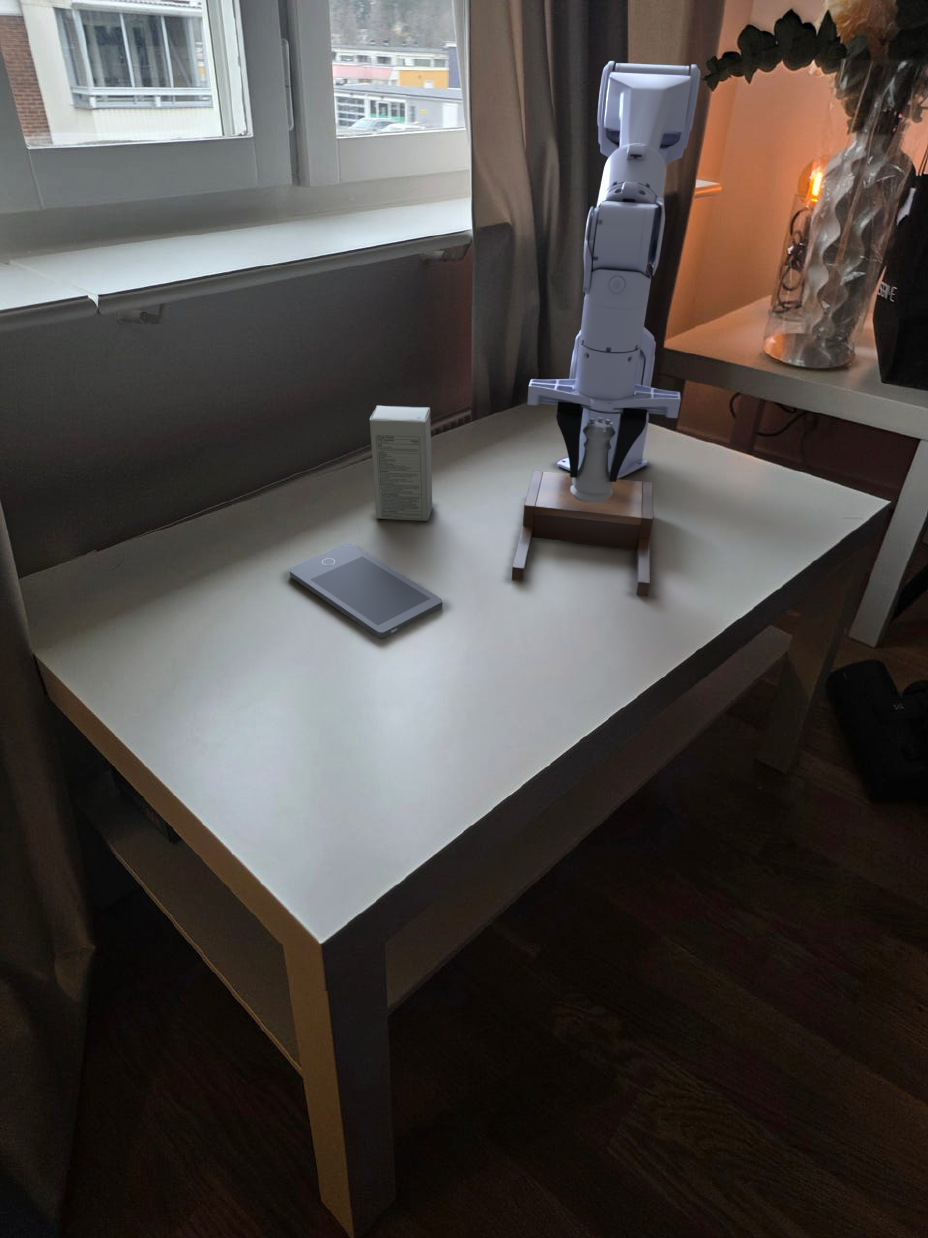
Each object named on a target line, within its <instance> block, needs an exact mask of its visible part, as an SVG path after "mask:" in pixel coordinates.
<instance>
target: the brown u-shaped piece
mask: <svg viewBox="0 0 928 1238" xmlns="http://www.w3.org/2000/svg"><path fill="white" fill-rule="evenodd" d="M530 477H531V478H530V481H529V484H528V489H527V493H526V496H525V501H524V505H523V517H522V526H521V531H520V535H519V538H518V543H517V547H516V551H515V555H514V559H513V564H512V568H511V580H516V581H524V577H525V573H526V568H527V564H528V559H529V555H530V550H531V545H532V543H533V539H539V540H547V541H548V540H549V541H558V542H566V543H575V544H584V545H592V546H601V547H611V548H619V549H621V548H622V549H626V550H627V549H629V550H636V566H635V567H636V568H635V569H636V571H635V573H636V577H635V594H636V595H641V596H642V595H643V596H648V595H649V592H650V586H651V542H650V540H651V535H652V529H653V524H654V483H653V482H649V481H640V480H631V479H621V478H619V479H617V481H616V482H613V487H612V488H611V489H612V490H613V495H612V496H611V497H610V498H609V499H608V500H607V501H605V502H602V503H595V504H594V503H586V502H582V501H580V500H578V499H576V498H575V497H574V496H573V494H572V493H571V491H570V487H571V486H572V485H573V484H572V479H573V478H571V477H570V473H561V472H551V471H541V470H532V474H531V476H530Z"/></svg>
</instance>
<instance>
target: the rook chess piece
mask: <svg viewBox="0 0 928 1238" xmlns="http://www.w3.org/2000/svg"><path fill="white" fill-rule="evenodd" d="M594 421H595V419H594V418H591V419H590V420H589V421H588V423H587V426H586V427H585V428H584V429H583V433H584V434H585V436H586V438H587V439H586V442H585V443H584V444H583V445H584V447H585V452H584V456H583V460H582V464H581V466H580V468H579V469H578V472H577V478H573V479H572V484H573V485H572V486H571V487H570V491H571V493H572V494H573V496H574V497H575V498H576V499H578V500H580V501H582V502H586V503H594V504H595V503H602V502H605V501H607V500H608V499H609V498H610V497H611V496H612V495H613V490H612V489H611V488H612V487H613V482H610V481H609V480H610V472H609V471H608V453H609V450H610V449H611V445H610V439H611V438H612V437H613V436H614V435H615V430H614V429H613V422H611V420H609V419H606V420H605V423H604V422H602V418H597V422H594Z"/></svg>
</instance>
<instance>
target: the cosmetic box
mask: <svg viewBox="0 0 928 1238" xmlns="http://www.w3.org/2000/svg"><path fill="white" fill-rule="evenodd" d="M431 422H432V421H431V407H429V406H427V407H425V406H405V405H404V406H401V405H376V407H375V409H373V412H372V414H371V415H370V417H369V431H370V445H371V447H370V448H371V460H372V472H373V474H372V475H373V489H374V490H373V491H374V503H375V504H374V505H375V518H376V519H380V520H396V521H397V520H398V521H399V520H401V521H402V520H403V521H423V522H425V521H426V522H428V521H429V518H430V516H431V512H432V509H433V470H432V469H433V466H432V464H433V463H432V426H431V424H432V423H431Z"/></svg>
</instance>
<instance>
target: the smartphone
mask: <svg viewBox="0 0 928 1238" xmlns="http://www.w3.org/2000/svg"><path fill="white" fill-rule="evenodd" d="M289 577H290V578H291V579H293V580H294V581H295V582H297V583H298V584H300V585H301V586H303V587H304V588H306V589H307V590H308V591H310V592H311V593H313V594H315V595H316V596H317V597H319V598H320V599H322V600H323V601H324V602H325V603H327V604H329V605H330V606H332V607H333V608H335V609H336V610H337V611H339V612H340V613H342V614H343V615H345V616H346V617H348V618H349V619H351V620H352V621H353V622H355V623H356V624H358V625H359V626H361V627H362V628H363V629H364V630H366V631H368V632H369V633H371V634H372V635H373V636H374V637H377V638H379V639H385V638H387V637H389V636H391V635H393V634H395V633H396V632H398V631H400V630H402V629H404V628H406V627H408V626H410V625H412V624H413V623H416V622H418V621H419V620H421V619H423V618H425V617H427V616H429V615H431V614H433V613H434V612H437V611H438V610H440V609H442V608H443V599H442V598H441V597H440V596H438V595H436V594H435V593H433V592H431V591H430V590H428V589H427V588H425V587H424V586H422V585H420V584H419V583H416V581H414V580H413V579H410V578H409V577H407V576H405V575H404V574H402V573H400V572H399V571H397V570H396V569H394V568H392V567H390V566H389V565H387V564H386V563H384V562H382V561H381V560H379V559H378V558H376V557H374V556H372V555H371V554H369V553H368V552H366V551H364V550H363V549H361V548H359V547H358V546H356V545H354V544H352V543H346V544H344V545H341V546H339V547H337V548H335V549H332V550H330V551H327V552H325V553H323V554H321V555H318V556H316V557H313V558H312V559H309V560H307V561H303V562H301V563H299V564H297V565H295V566H292V567H289Z"/></svg>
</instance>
